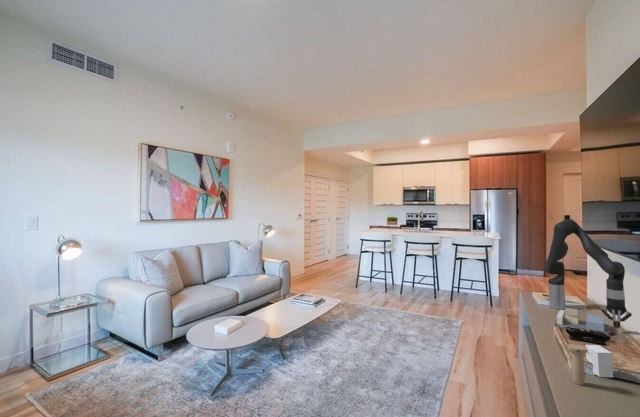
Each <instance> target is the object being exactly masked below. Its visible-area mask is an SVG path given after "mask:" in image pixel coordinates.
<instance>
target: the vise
mask: <svg viewBox="0 0 640 417" xmlns="http://www.w3.org/2000/svg"><path fill="white" fill-rule="evenodd" d="M558 310H559V311H558V313H557V315H556V321H555V322H554V326H555V325H564V326H569V327H575V328H582V329H587V328H586V320H584V319H583V320H582V319H579V324H573V323H567V322H566V321H565V309H558ZM591 330H592V329H591ZM604 332H606V333H609V334H610V324H606V323H605V327H604Z"/></svg>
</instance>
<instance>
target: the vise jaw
mask: <svg viewBox="0 0 640 417" xmlns="http://www.w3.org/2000/svg"><path fill="white" fill-rule="evenodd" d="M585 321H586V328H587V329H592V330H597V331H603V332H604V327H605V324H606V323H605V322H606V321H605V316H603V315H597V314H591V313H587V316H586V320H585Z"/></svg>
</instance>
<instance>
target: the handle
mask: <svg viewBox="0 0 640 417" xmlns="http://www.w3.org/2000/svg"><path fill="white" fill-rule="evenodd" d="M566 346H567V349H568V351H571V354H572V357H571V358H572V359H571V360H572V365H571V369H572V372H571V373H572V377H573V381H574V383H575V384H576V385H579V386H585V379H586V370H585V363H584V354H586V353H587V352H588V349H587V348H586V346H583V345H580V344H573V343H572V344H570V343H569V344H567V345H566Z"/></svg>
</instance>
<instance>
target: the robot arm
mask: <svg viewBox="0 0 640 417" xmlns="http://www.w3.org/2000/svg"><path fill="white" fill-rule="evenodd" d="M572 234H574V235H576V236H577V237H578V239H579V240H580V243H581V246H582V249H583V250H584V252H585V253H586V254H587V255H588V256H589V257H591V259H592V260H594V261H595V262H596V264H597V265H598V266H599V267H600V269H601V270H602V271H603V272H604V273H605V274H608V277H607V278H606V281H605V283H606V291H605V295H606V305H605V307H604V308H601V312H602V313H603V314H604V315H605V316H606V317H607V318H608V319H609V320H611V321H613V322H612V323H613V327H614V328H615V329H619V328H621V322H626V320H629V318H630V317H632V315H633V314H632V312H629V310H627V307H626V296H625V294H626V293H625V290H624V289H625V288H624V279H625V273H626V272H625V271H626V269H625V266H624V265H623V263H621V262H620V261H613V260H612V259H611V258H609V254H608V253H607V252H606V251H605V250H604V249H603V248H602V247H600V246H599V245H598V244H596V243H595V241H594V240H593V239H592V238H591V237H590V236H589V235H588V234H587V233H586V231H585V230H584V229H583V228H582V227H581V226H580V225H579V223H577V222H576V221H575V220H573V219H571V218H567V219H564V220H561V221H559V222H557V223H556V224H555V225H554V227H553V236H552V240H551V245H550V249H549V253H548V256H547V258H546V262H545V264H544V270H545V272H546V273H547V274H548V275H556V276H554V277H551V278H548V280H547V283H548V284H547V286H548V303H549V308H551V309H555V310H565V308H567V306H566V291H565V290H566V289H565V269H566V268H565V264H564V262H563V261H560V260H562V259H564V258H565V257H566V256H567V255H568V251H569V245H568V243H567V242H566V239H567V238H568V236H570V235H572ZM608 312H609V313H608ZM624 314H625V315H624ZM611 315H612V316H611ZM623 315H624V316H623ZM621 316H623V317H622V318H621Z"/></svg>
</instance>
